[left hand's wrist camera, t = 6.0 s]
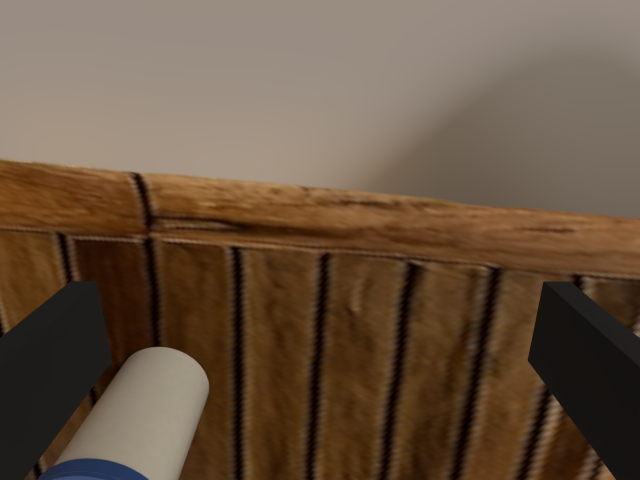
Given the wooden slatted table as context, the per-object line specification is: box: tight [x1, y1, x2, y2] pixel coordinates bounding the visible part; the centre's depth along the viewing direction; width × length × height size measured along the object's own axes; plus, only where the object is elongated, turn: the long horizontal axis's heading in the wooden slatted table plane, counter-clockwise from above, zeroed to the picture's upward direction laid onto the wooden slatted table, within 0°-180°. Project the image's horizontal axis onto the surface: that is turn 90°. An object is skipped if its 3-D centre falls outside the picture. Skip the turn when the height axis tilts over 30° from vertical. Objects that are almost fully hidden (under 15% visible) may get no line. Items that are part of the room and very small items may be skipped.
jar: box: [52, 347, 209, 480], centre depth 40 cm, size 10×10×16 cm
